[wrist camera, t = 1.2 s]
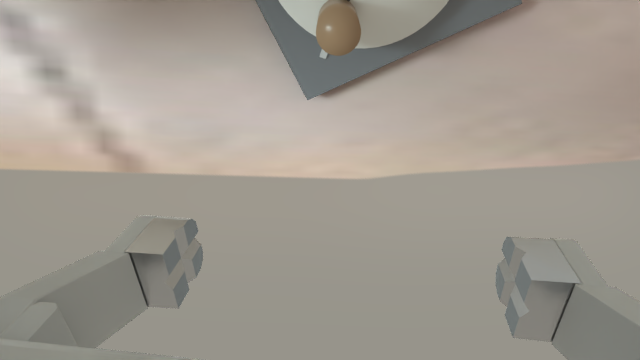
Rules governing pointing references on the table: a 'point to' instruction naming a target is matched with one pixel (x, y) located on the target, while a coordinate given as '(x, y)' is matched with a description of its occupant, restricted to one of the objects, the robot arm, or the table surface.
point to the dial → (361, 21)
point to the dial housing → (332, 71)
